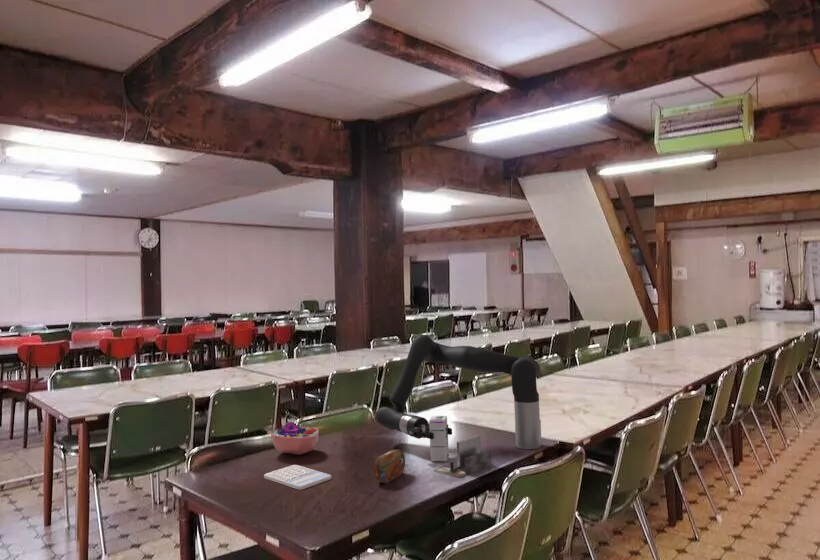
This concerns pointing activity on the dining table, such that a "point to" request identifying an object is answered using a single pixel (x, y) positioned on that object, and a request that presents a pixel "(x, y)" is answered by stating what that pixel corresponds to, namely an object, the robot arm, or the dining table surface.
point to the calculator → (297, 477)
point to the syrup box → (439, 438)
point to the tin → (389, 466)
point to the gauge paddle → (466, 451)
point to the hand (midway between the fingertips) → (442, 434)
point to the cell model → (295, 438)
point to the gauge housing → (469, 464)
